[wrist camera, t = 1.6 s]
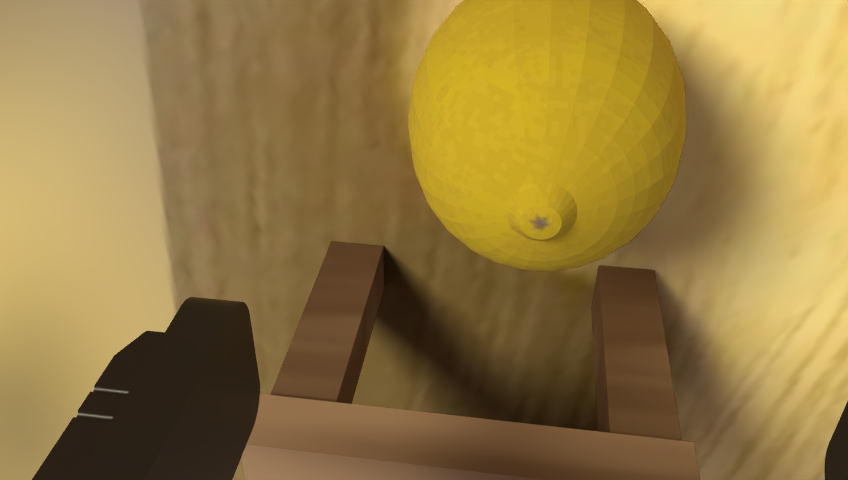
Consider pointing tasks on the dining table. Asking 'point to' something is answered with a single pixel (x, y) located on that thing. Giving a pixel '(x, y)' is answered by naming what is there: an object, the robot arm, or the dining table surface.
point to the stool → (457, 435)
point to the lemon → (547, 127)
